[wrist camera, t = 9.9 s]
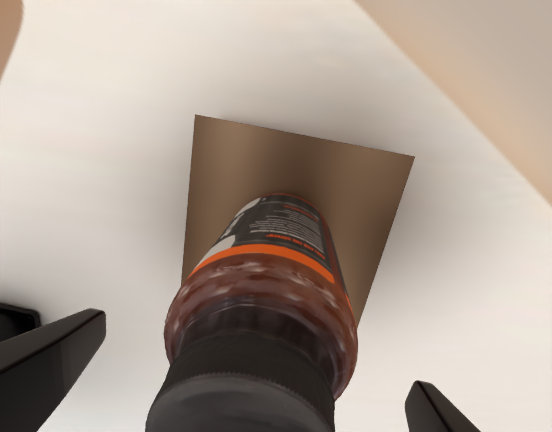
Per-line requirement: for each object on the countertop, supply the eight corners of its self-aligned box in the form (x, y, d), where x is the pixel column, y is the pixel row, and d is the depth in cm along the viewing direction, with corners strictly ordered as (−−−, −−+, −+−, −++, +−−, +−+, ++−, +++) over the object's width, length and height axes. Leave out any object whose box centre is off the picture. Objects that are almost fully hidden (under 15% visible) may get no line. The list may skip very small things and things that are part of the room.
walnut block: (201, 271, 22) (179, 299, 18) (217, 118, 18) (195, 114, 14) (344, 301, 21) (354, 337, 18) (390, 152, 18) (415, 156, 14)
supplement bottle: (222, 198, 16) (44, 341, 5) (324, 182, 15) (384, 314, 4) (243, 286, 17) (145, 540, 6) (335, 277, 16) (399, 549, 6)
